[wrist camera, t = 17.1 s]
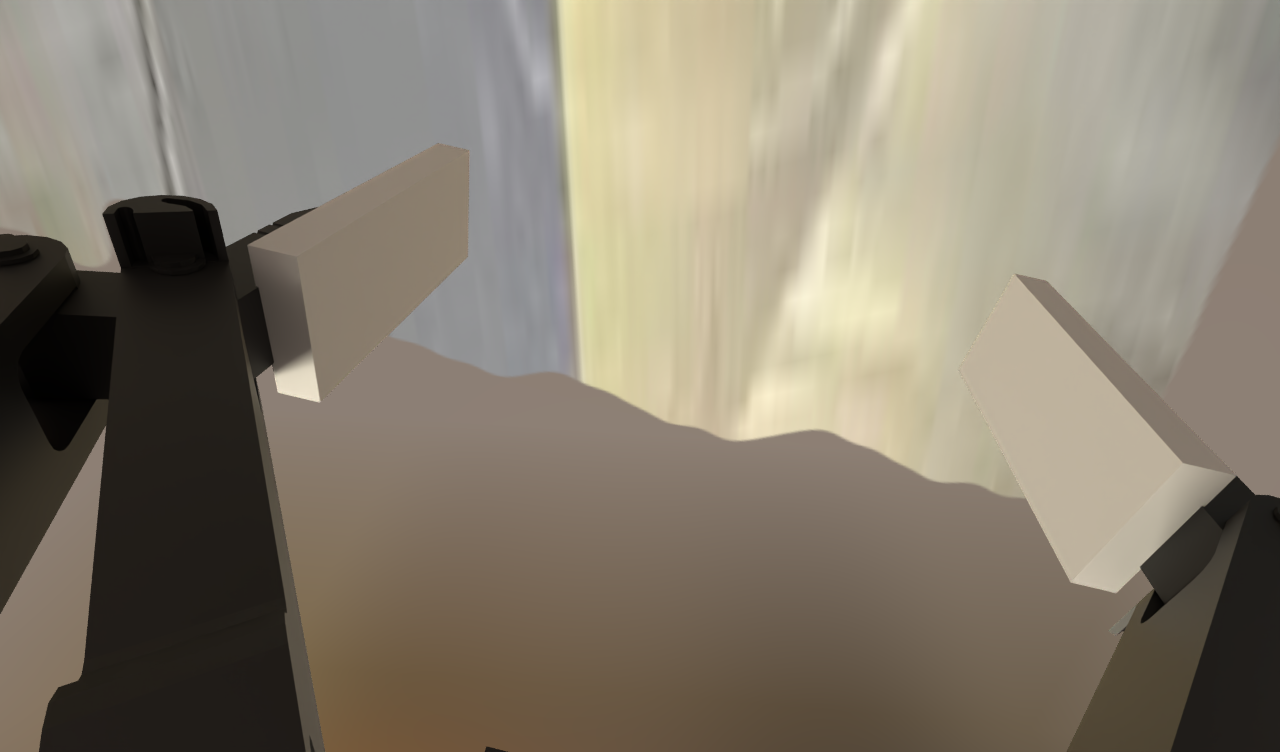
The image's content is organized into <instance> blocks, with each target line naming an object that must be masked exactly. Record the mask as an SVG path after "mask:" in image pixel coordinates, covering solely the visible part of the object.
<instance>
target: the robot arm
mask: <svg viewBox="0 0 1280 752" xmlns="http://www.w3.org/2000/svg"><path fill="white" fill-rule="evenodd" d="M468 210H469V150H466V149H461V148H457V147H453V146H448V145H444V144H439V143H438V144H436V145H434V146H432V147H430V148H429V149H427V150H425V151H423V152H421V153H419V154H417V155H415V156H414V157H412V158H410V159H408V160H406V161H404V162H402V163H400V164H399V165H397V166H395V167H393V168H391V169H389V170H387V171H385V172H383V173H382V174H380V175H378V176H376V177H374V178H372V179H370V180H368V181H367V182H365V183H363V184H361V185H359V186H357V187H355V188H353V189H352V190H350V191H348V192H346V193H344V194H342V195H340V196H338V197H337V198H335V199H333V200H331V201H329V202H327V203H325V204H323V205H322V206H320V207H316V208H312V209H308V210H303V211H299V212H295V213H291V214H289V215H287V216H285V217H283V218H281V219H279V220H277V221H275V222H274V223H273V225H268V226H266V227H264V228H262V229H260V230H258V233H252V234H250V235H248V236H246V237H244V238H242V239H241V240H239V241H237V242H235V243H233V244H231V245H229V246H227V247H226V246H225V242H224V238H223V233H222V229H221V225H220V220H219V216H218V212H217V210H216V208H215V207H214V206H213V204H211V203H208V202H206V201H204V200H201V199H197V198H191V197H186V196H172V195H157V196H144V197H137V198H133V199H128V200H123V201H120V202H118V203H116V204H113V205H111V206H109V207H108V208H107V209H106V210H105V211H104V213H103V217H104V220H105V223H106V226H107V229H108V232H109V235H110V238H111V241H112V243H113V246H114V249H115V252H116V255H117V258H118V261H119V264H120V266H121V273H112V272H95V271H79V270H76V269H75V266H74V263H73V261H72V258H71V256H70V253H69V251H68V248H67V247H66V246H65V245H64V244H63V243H62V242H60V241H57V240H54V239H51V238H48V237H40V236H30V235H18V236H14V235H12V234H1V235H0V614H1V612H2V610H3V608H4V606H5V605H6V603H7V601H8V599H9V597H10V596H11V594H12V592H13V590H14V589H15V587H16V585H17V583H18V581H19V580H20V578H21V576H22V574H23V572H24V570H25V569H26V567H27V565H28V563H29V562H30V560H31V558H32V556H33V555H34V553H35V551H36V549H37V547H38V545H39V544H40V542H41V540H42V538H43V536H44V535H45V533H46V531H47V529H48V528H49V526H50V524H51V522H52V520H53V519H54V517H55V515H56V513H57V511H58V510H59V508H60V506H61V504H62V503H63V501H64V499H65V497H66V495H67V494H68V492H69V490H70V488H71V487H72V485H73V483H74V481H75V479H76V478H77V476H78V474H79V472H80V470H81V469H82V467H83V465H84V463H85V461H86V460H87V458H88V456H89V454H90V453H91V451H92V449H93V447H94V445H95V444H96V442H97V440H98V438H99V436H100V435H101V433H102V431H103V429H104V428H105V426H106V434H105V445H104V457H103V466H102V478H101V488H100V498H99V510H98V520H97V530H96V542H95V552H94V562H93V573H92V584H91V594H90V605H89V616H88V627H87V637H86V648H85V658H84V665H83V671H82V675H81V677H80V679H79V680H78V681H76V682H73V683H70V684H67V685H64V686H61V687H58V689H57V690H56V692H55V694H54V695H53V697H52V698H51V700H50V701H49V703H48V707H47V711H46V716H45V720H44V724H43V728H42V734H41V741H40V748H39V752H325V749H324V744H323V738H322V733H321V727H320V722H319V716H318V711H317V705H316V700H315V695H314V689H313V683H312V678H311V672H310V667H309V662H308V656H307V651H306V646H305V640H304V634H303V629H302V623H301V618H300V612H299V607H298V601H297V596H296V591H295V586H294V579H293V574H292V569H291V563H290V558H289V552H288V547H287V541H286V536H285V530H284V525H283V519H282V514H281V508H280V503H279V497H278V492H277V486H276V481H275V475H274V470H273V464H272V459H271V453H270V448H269V443H268V437H267V432H266V426H265V421H264V415H263V410H262V404H261V399H260V394H259V389H258V385H257V381H256V377H257V376H258V375H260V374H261V373H262V372H263V371H264V370H266V369H267V368H268V367H269V366H271V365H272V366H273V371H274V376H275V380H276V385H277V390H278V393H283V394H287V395H291V396H295V397H299V398H303V399H308V400H312V401H316V402H321V401H322V400H323V399H324V398H325V397H326V396H327V395H328V394H329V393H330V392H331V391H332V390H333V389H334V388H335V387H336V386H337V385H339V383H341V382H342V381H343V379H345V377H347V376H348V375H349V373H351V372H352V371H353V370H354V369H355V368H356V367H357V366H358V364H360V363H361V362H362V361H363V360H364V359H365V358H366V357H367V356H368V355H369V354H370V353H371V352H372V351H373V350H374V349H375V348H376V347H377V346H378V345H379V344H380V343H381V342H382V341H383V340H384V339H385V338H386V337H387V336H388V335H389V334H390V333H391V332H392V331H393V330H394V329H395V328H396V327H397V326H398V325H399V324H400V323H401V322H402V321H403V320H404V319H405V318H406V317H407V316H408V315H409V314H410V313H411V312H412V311H413V310H414V309H415V308H416V307H417V306H418V305H419V304H420V303H421V302H422V301H423V300H424V299H425V298H426V297H427V296H428V295H429V294H430V293H431V292H432V291H433V290H434V289H436V288H437V287H438V286H439V285H440V284H441V283H442V282H443V281H444V280H445V279H446V278H447V277H448V276H449V275H450V274H451V273H452V272H453V271H454V270H455V269H456V268H457V267H458V266H459V265H460V264H461V263H462V262H463V261H464V260H465V259H466V258H467V257H468ZM958 371H959V372H960V374H961V376H962V378H963V380H964V382H965V384H966V386H967V388H968V389H969V391H970V393H971V395H972V397H973V399H974V401H975V403H976V405H977V406H978V408H979V410H980V412H981V414H982V416H983V418H984V420H985V421H986V423H987V425H988V427H989V429H990V431H991V433H992V435H993V437H994V438H995V440H996V442H997V444H998V446H999V448H1000V450H1001V452H1002V454H1003V455H1004V457H1005V459H1006V461H1007V463H1008V465H1009V467H1010V469H1011V471H1012V472H1013V474H1014V476H1015V478H1016V480H1017V482H1018V484H1019V486H1020V488H1021V489H1022V491H1023V493H1024V495H1025V497H1026V499H1027V501H1028V503H1029V505H1030V506H1031V508H1032V510H1033V512H1034V514H1035V516H1036V517H1037V519H1038V522H1039V523H1040V525H1041V527H1042V529H1043V531H1044V533H1045V535H1046V537H1047V538H1048V540H1049V542H1050V544H1051V546H1052V548H1053V550H1054V552H1055V553H1056V555H1057V557H1058V559H1059V561H1060V563H1061V565H1062V567H1063V569H1064V570H1065V572H1066V574H1067V576H1068V578H1069V580H1070V582H1072V583H1076V584H1080V585H1085V586H1089V587H1093V588H1097V589H1101V590H1105V591H1109V592H1114V593H1117V592H1118V591H1119V590H1120V589H1121V588H1122V587H1123V586H1124V585H1125V584H1126V583H1127V582H1128V581H1129V580H1130V579H1131V578H1132V577H1133V576H1134V575H1135V574H1136V573H1137V572H1138V571H1139V570H1140V569H1141V570H1142V571H1143V573H1144V574H1145V576H1146V577H1147V579H1148V580H1149V582H1150V583H1151V585H1152V586H1153V588H1154V589H1153V590H1152V591H1151V592H1150V593H1149V594H1147V596H1145V597H1144V598H1143V599H1142V600H1141V601H1140V602H1139V603H1138V604H1137V605H1136V606H1135V607H1133V608H1132V609H1131V610H1130V611H1129V612H1128V613H1127V614H1126V615H1125V616H1124V617H1123V618H1122V619H1120V621H1118V622H1117V623H1116V624H1115V625H1114V626H1113V627H1112V628H1111V629H1110V630H1109V632H1111V633H1112V634H1114V635H1115V636H1116V635H1117V634H1119V633H1120V632H1122V631H1124V633H1123V635H1122V637H1121V639H1120V641H1119V643H1118V645H1117V647H1116V650H1115V652H1114V654H1113V656H1112V658H1111V660H1110V662H1109V664H1108V667H1107V668H1106V670H1105V673H1104V675H1103V677H1102V679H1101V681H1100V683H1099V685H1098V687H1097V689H1096V692H1095V693H1094V696H1093V698H1092V700H1091V702H1090V704H1089V706H1088V708H1087V710H1086V712H1085V714H1084V716H1083V719H1082V721H1081V723H1080V725H1079V727H1078V729H1077V731H1076V733H1075V735H1074V737H1073V739H1072V742H1071V744H1070V746H1069V748H1068V750H1067V752H1280V498H1277V497H1273V496H1269V495H1255V494H1254V493H1253V492H1252V491H1251V490H1250V489H1249V488H1248V487H1247V486H1246V485H1245V484H1244V483H1243V482H1242V481H1241V480H1240V479H1239V478H1238V477H1237V476H1236V475H1235V474H1234V472H1233V471H1232V470H1231V469H1230V468H1229V467H1228V466H1227V465H1226V464H1225V463H1224V462H1223V461H1222V460H1221V459H1220V458H1219V457H1218V456H1217V455H1216V454H1215V453H1214V452H1213V451H1212V450H1211V449H1210V448H1209V447H1208V446H1207V445H1206V444H1205V443H1204V442H1203V441H1202V440H1201V438H1200V437H1199V436H1197V434H1196V433H1195V432H1194V431H1193V430H1192V429H1191V428H1190V427H1189V426H1188V425H1187V424H1186V423H1185V422H1184V421H1183V420H1182V419H1181V418H1180V417H1179V416H1178V415H1177V414H1176V413H1175V412H1174V411H1173V410H1172V409H1171V408H1170V407H1169V406H1168V405H1167V404H1166V403H1165V402H1164V401H1163V400H1162V399H1161V398H1160V396H1159V395H1158V394H1157V393H1156V392H1155V391H1154V390H1153V389H1152V388H1151V387H1150V386H1149V385H1148V384H1147V383H1146V382H1145V381H1144V380H1143V379H1142V378H1141V377H1140V376H1139V375H1138V374H1137V373H1136V372H1135V371H1134V370H1133V369H1132V368H1131V367H1130V366H1129V365H1128V364H1127V363H1126V362H1125V361H1124V360H1123V359H1122V358H1121V357H1120V356H1119V355H1118V353H1117V352H1116V351H1115V350H1114V349H1113V348H1112V347H1111V346H1110V345H1109V344H1108V343H1107V342H1106V341H1105V340H1104V339H1103V338H1102V337H1101V336H1100V335H1099V334H1098V333H1097V332H1096V331H1095V330H1094V329H1093V328H1092V327H1091V326H1090V325H1089V324H1088V323H1087V322H1086V321H1085V320H1084V319H1083V318H1082V317H1081V316H1080V315H1079V314H1078V313H1077V311H1076V310H1075V309H1074V308H1073V307H1072V306H1071V305H1070V304H1069V303H1068V302H1067V301H1066V300H1065V299H1064V298H1063V297H1062V296H1061V295H1060V294H1059V293H1058V292H1057V291H1056V290H1055V289H1054V288H1053V287H1052V286H1051V285H1050V284H1049V283H1048V282H1047V281H1045V280H1040V279H1036V278H1031V277H1027V276H1023V275H1018V274H1013V276H1012V278H1011V280H1010V281H1009V283H1008V285H1007V287H1006V288H1005V290H1004V292H1003V293H1002V295H1001V297H1000V299H999V300H998V302H997V304H996V305H995V307H994V309H993V311H992V312H991V314H990V316H989V318H988V319H987V321H986V323H985V324H984V326H983V328H982V330H981V331H980V333H979V335H978V336H977V338H976V340H975V342H974V343H973V345H972V347H971V348H970V350H969V352H968V354H967V355H966V357H965V359H964V361H963V362H962V364H961V366H960V367H959V369H958ZM485 752H506V751H503V750H499V749H495V748H490V747H486V750H485Z"/></svg>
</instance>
